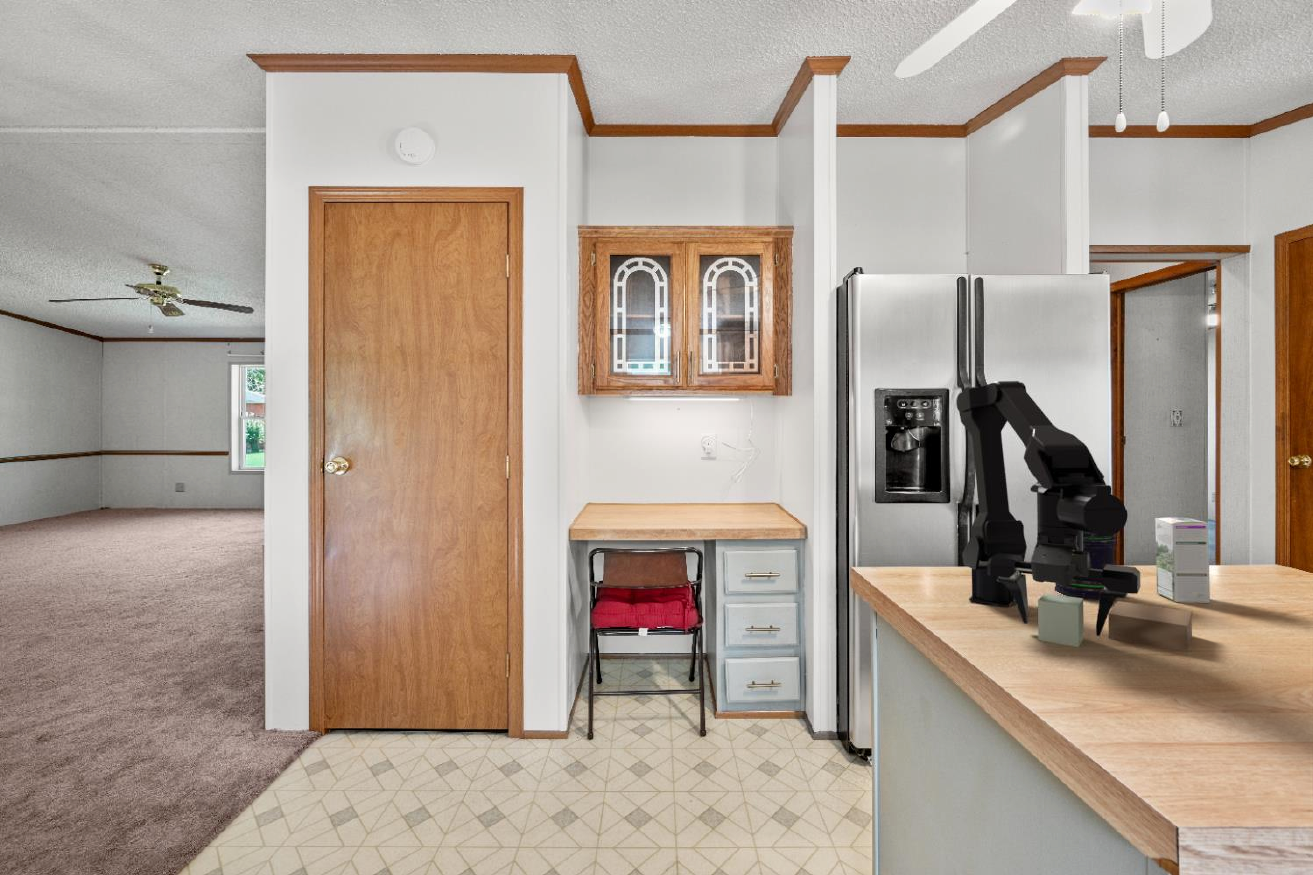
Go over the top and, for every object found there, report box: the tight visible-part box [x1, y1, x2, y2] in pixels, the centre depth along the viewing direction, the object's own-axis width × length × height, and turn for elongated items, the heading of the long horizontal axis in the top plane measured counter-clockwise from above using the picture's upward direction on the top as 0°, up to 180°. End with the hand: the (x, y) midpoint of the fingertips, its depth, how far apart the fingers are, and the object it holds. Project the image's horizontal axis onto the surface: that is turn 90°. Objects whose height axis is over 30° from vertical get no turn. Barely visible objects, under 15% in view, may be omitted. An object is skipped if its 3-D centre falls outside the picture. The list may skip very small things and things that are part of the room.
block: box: [1108, 600, 1193, 653], centre depth 93 cm, size 9×9×4 cm
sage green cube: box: [1037, 593, 1085, 648], centre depth 93 cm, size 5×5×6 cm
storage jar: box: [1054, 531, 1117, 601], centre depth 118 cm, size 10×10×15 cm
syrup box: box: [1154, 516, 1211, 604], centre depth 113 cm, size 6×6×14 cm
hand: (1060, 629), depth 93 cm, fingers open, 9 cm apart
